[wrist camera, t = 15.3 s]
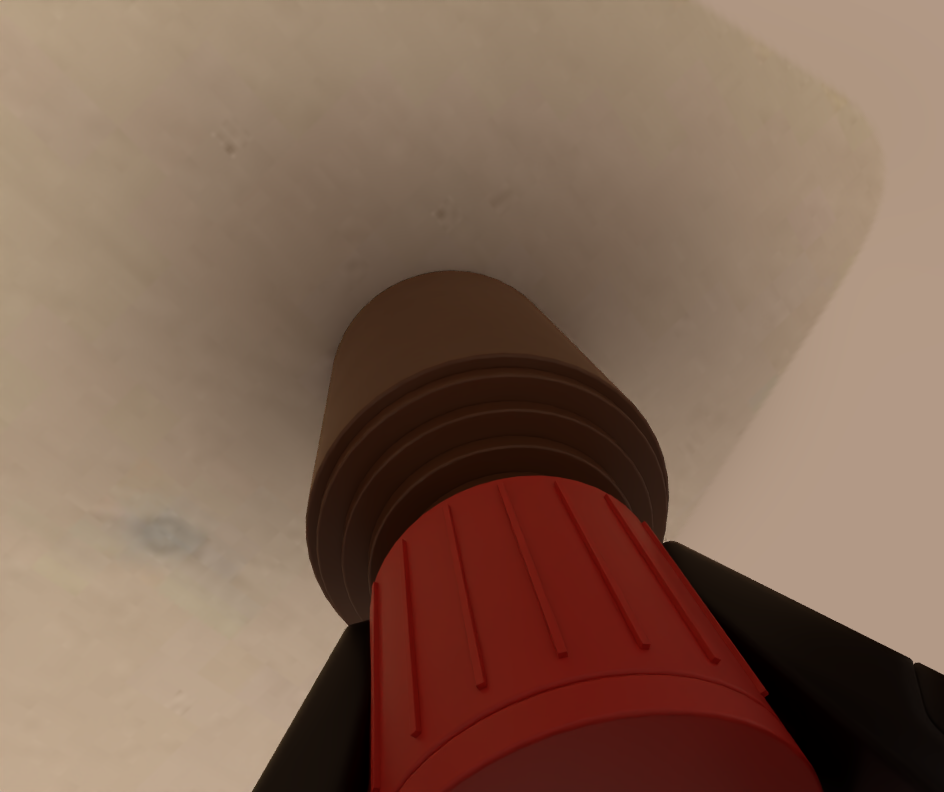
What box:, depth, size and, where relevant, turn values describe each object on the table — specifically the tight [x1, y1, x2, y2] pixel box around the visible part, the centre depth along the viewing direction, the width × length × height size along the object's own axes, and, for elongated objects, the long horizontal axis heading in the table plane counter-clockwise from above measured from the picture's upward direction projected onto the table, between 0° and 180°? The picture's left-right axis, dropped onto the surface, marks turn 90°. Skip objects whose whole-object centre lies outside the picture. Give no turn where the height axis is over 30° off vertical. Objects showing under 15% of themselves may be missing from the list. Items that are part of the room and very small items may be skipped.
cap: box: [367, 475, 823, 792], centre depth 7 cm, size 4×4×4 cm
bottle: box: [306, 271, 669, 626], centre depth 12 cm, size 6×6×12 cm
